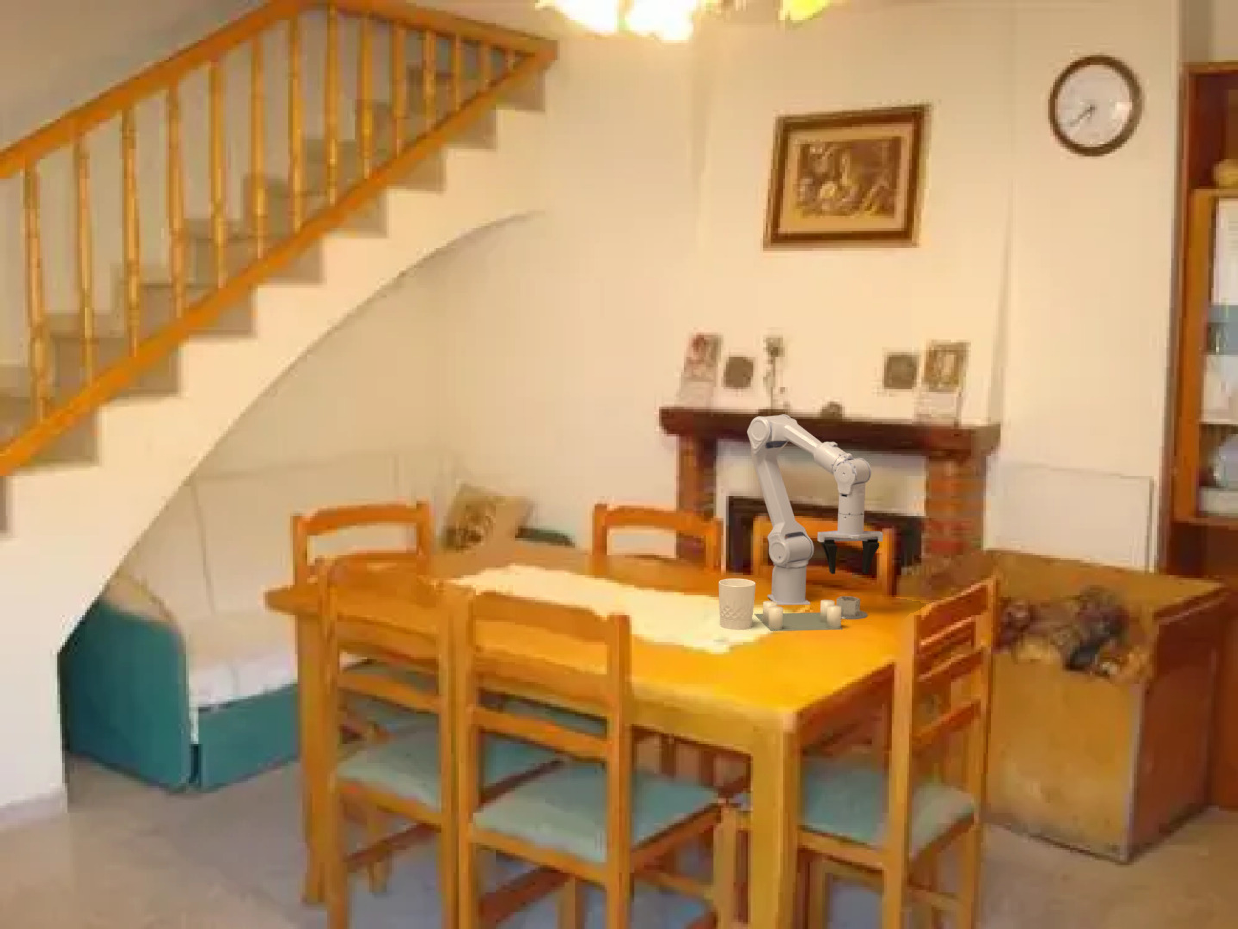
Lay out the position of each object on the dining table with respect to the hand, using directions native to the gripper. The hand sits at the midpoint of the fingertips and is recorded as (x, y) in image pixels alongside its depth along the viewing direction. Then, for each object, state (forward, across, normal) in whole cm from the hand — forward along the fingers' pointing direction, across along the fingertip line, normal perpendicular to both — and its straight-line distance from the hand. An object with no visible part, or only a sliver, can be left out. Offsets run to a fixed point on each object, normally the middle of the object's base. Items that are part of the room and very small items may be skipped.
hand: (848, 572), depth 316 cm
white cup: (+10, -28, -8) cm, 30 cm away
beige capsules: (+9, -13, -9) cm, 18 cm away
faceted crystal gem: (+9, 0, 0) cm, 9 cm away
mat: (+10, -13, -6) cm, 17 cm away
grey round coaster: (+10, 0, 0) cm, 10 cm away
